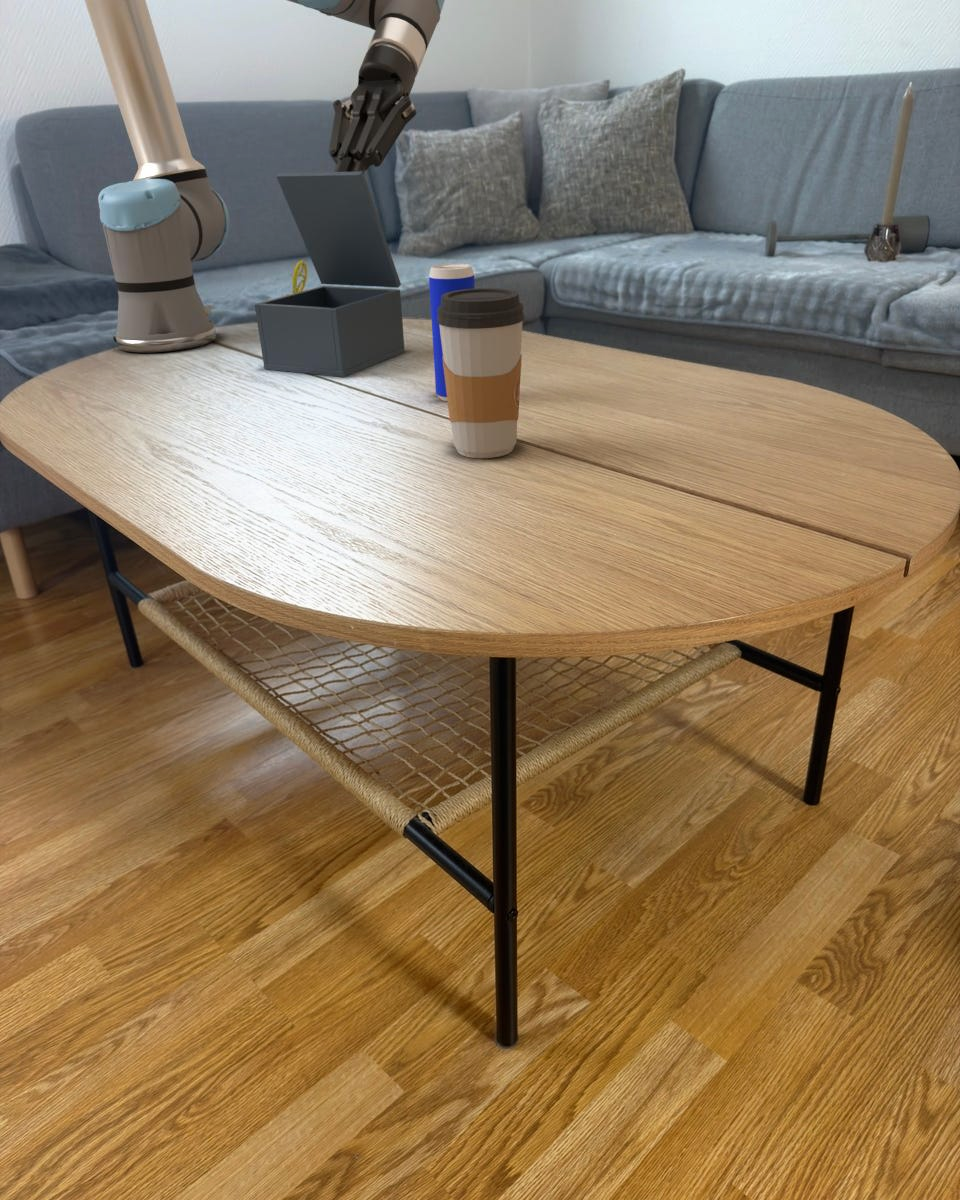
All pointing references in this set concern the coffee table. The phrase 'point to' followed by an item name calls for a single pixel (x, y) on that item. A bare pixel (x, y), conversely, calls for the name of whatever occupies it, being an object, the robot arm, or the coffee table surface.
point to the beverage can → (440, 283)
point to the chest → (330, 330)
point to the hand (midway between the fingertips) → (336, 204)
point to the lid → (340, 228)
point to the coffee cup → (482, 368)
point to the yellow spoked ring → (295, 275)
